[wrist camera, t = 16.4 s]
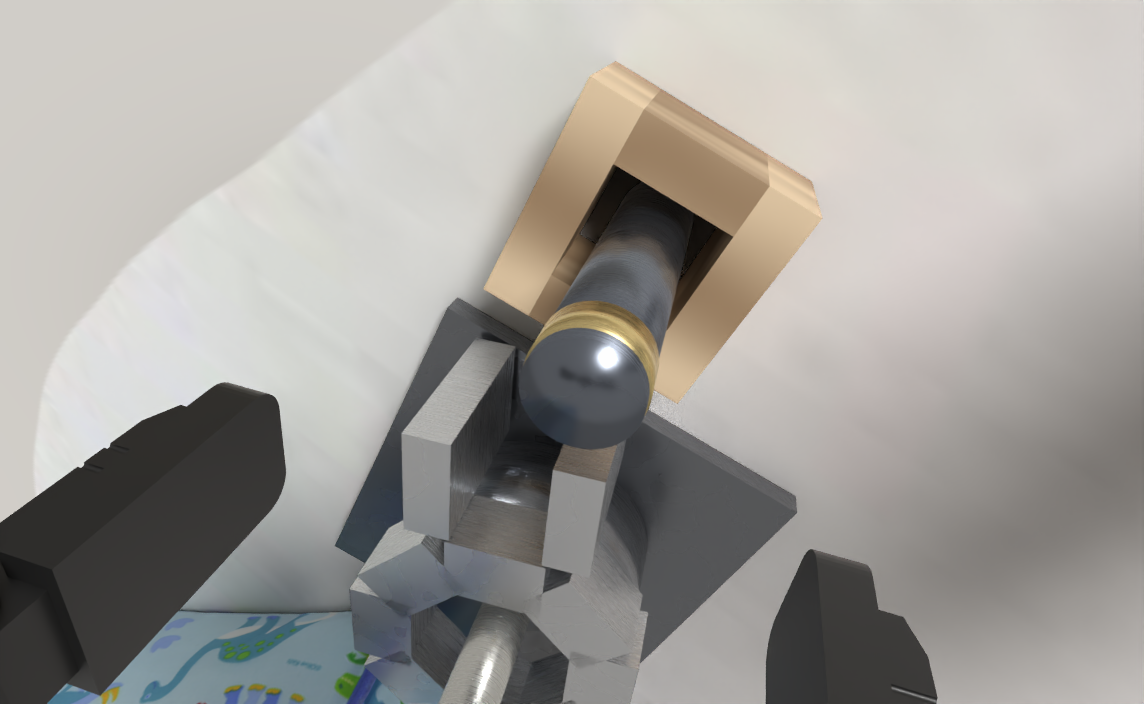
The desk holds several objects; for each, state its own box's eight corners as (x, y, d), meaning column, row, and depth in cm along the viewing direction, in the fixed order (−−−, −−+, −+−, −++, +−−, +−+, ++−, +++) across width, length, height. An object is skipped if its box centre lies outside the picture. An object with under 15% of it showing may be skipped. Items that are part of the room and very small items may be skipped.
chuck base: (457, 297, 27) (310, 453, 18) (795, 496, 28) (815, 741, 19) (344, 532, 35) (206, 718, 26) (607, 680, 36) (559, 911, 27)
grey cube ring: (697, 385, 25) (679, 512, 19) (634, 645, 32) (607, 796, 26) (423, 326, 27) (326, 426, 21) (423, 587, 34) (353, 716, 28)
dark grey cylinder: (703, 186, 23) (662, 353, 13) (685, 260, 24) (636, 465, 14) (624, 171, 23) (523, 320, 13) (612, 244, 25) (510, 433, 14)
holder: (615, 61, 22) (589, 75, 18) (811, 181, 22) (822, 218, 18) (519, 247, 25) (483, 288, 22) (687, 347, 26) (677, 403, 22)
